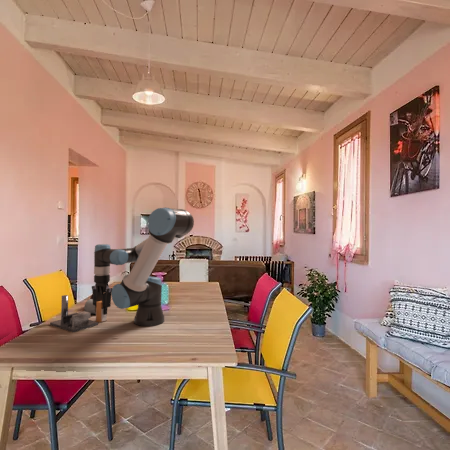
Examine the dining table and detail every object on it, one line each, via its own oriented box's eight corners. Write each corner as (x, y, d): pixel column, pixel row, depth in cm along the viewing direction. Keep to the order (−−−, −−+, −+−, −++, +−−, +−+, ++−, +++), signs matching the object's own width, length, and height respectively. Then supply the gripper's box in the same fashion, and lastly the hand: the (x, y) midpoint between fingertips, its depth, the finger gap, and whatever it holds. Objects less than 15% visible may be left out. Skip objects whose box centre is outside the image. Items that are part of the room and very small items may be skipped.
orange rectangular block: (106, 320, 156) (106, 301, 156) (100, 322, 154) (100, 302, 154) (101, 319, 158) (102, 300, 158) (96, 321, 155) (96, 301, 155)
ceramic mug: (95, 316, 164) (96, 301, 164) (83, 314, 167) (84, 300, 167) (109, 311, 174) (109, 297, 174) (97, 309, 177) (97, 296, 177)
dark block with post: (98, 324, 150) (98, 298, 150) (73, 332, 139) (73, 303, 139) (74, 318, 160) (75, 293, 160) (49, 324, 149) (50, 298, 149)
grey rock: (94, 323, 148) (95, 311, 148) (79, 328, 141) (80, 315, 141) (87, 321, 151) (87, 309, 151) (72, 326, 144) (72, 313, 144)
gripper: (118, 274, 155) (118, 320, 155) (98, 272, 163) (97, 315, 163) (106, 276, 149) (105, 324, 148) (85, 273, 157) (84, 319, 157)
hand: (101, 319), depth 156 cm, fingers closed on orange rectangular block, 3 cm apart
